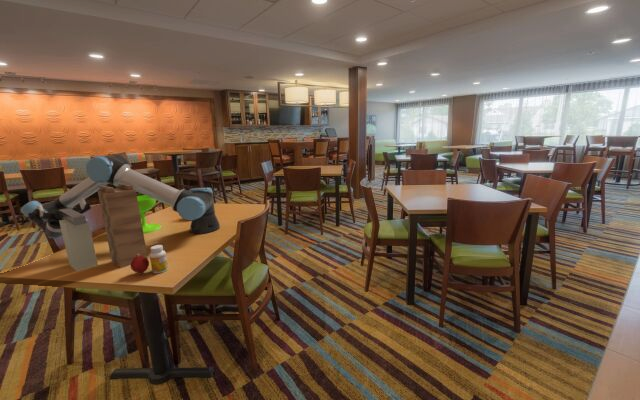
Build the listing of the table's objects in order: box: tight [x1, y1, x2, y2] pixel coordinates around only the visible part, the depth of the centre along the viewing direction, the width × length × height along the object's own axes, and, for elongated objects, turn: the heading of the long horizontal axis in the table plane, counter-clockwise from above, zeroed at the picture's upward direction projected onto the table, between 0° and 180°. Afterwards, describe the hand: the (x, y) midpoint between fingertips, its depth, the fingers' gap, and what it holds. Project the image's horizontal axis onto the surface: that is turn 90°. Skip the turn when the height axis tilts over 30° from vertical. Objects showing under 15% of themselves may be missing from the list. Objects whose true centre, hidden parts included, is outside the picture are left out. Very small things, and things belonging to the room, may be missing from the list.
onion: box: [130, 254, 150, 275], centre depth 110 cm, size 6×6×8 cm
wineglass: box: [137, 194, 162, 234], centre depth 162 cm, size 16×16×18 cm
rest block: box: [59, 218, 99, 272], centre depth 118 cm, size 10×7×19 cm
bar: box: [59, 208, 87, 226], centre depth 116 cm, size 22×4×3 cm, turn 52°
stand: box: [97, 183, 149, 268], centre depth 119 cm, size 10×10×32 cm
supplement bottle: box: [149, 244, 169, 274], centre depth 111 cm, size 5×5×10 cm
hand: (63, 203), depth 120 cm, fingers open, 13 cm apart
